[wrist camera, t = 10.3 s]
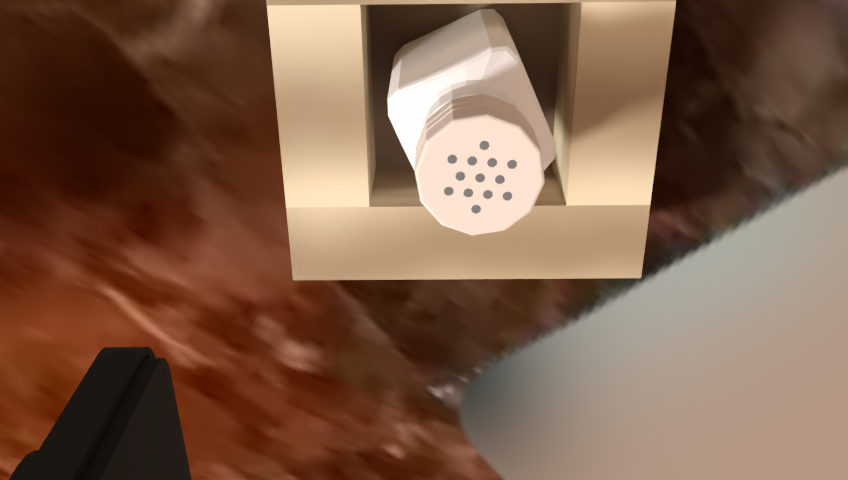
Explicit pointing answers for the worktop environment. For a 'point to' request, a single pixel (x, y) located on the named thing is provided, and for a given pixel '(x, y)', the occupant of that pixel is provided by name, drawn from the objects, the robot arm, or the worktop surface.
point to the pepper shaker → (470, 124)
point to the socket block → (394, 175)
